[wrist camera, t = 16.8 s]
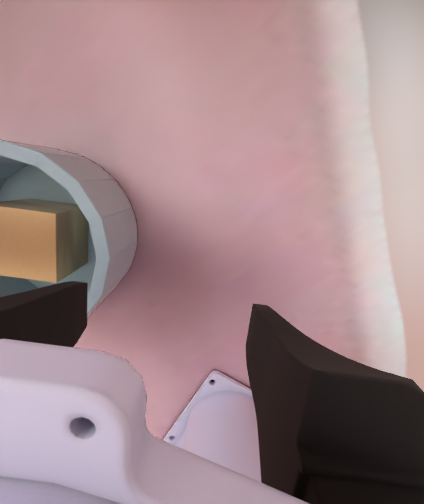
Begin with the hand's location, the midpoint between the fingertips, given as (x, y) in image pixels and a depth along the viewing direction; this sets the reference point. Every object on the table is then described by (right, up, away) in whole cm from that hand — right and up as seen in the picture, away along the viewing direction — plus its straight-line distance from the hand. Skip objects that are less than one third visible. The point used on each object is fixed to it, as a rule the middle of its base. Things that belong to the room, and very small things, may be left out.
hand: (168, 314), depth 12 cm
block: (-10, +4, +9) cm, 14 cm away
